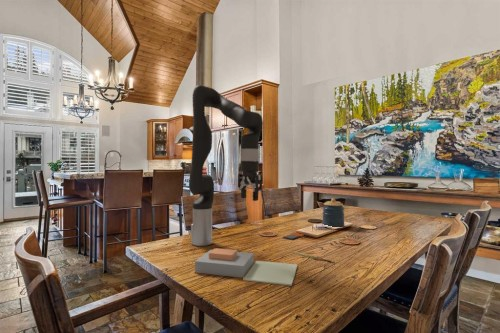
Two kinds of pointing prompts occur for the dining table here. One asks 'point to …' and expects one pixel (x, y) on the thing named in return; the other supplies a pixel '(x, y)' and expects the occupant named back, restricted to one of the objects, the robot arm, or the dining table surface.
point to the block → (223, 254)
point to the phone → (293, 236)
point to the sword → (312, 257)
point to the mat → (272, 273)
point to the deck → (225, 265)
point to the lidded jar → (333, 213)
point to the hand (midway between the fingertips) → (249, 199)
